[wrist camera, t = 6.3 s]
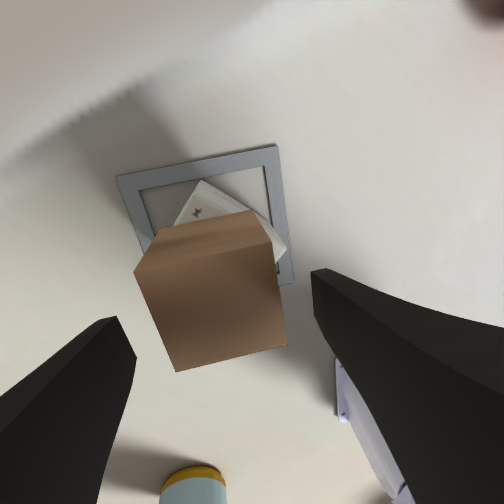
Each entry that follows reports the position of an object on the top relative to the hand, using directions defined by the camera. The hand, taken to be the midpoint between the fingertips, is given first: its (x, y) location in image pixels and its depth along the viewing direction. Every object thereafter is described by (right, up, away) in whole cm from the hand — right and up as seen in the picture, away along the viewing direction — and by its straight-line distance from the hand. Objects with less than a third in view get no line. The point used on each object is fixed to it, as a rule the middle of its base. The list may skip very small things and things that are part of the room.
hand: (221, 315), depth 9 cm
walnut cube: (-1, +2, +4) cm, 4 cm away
